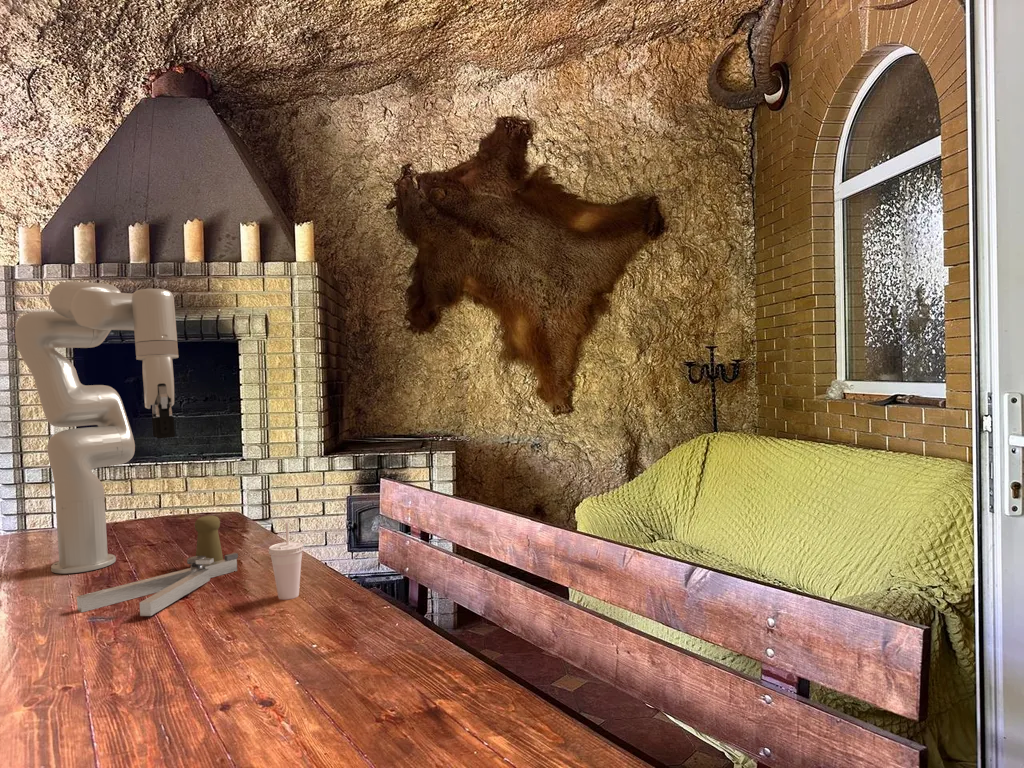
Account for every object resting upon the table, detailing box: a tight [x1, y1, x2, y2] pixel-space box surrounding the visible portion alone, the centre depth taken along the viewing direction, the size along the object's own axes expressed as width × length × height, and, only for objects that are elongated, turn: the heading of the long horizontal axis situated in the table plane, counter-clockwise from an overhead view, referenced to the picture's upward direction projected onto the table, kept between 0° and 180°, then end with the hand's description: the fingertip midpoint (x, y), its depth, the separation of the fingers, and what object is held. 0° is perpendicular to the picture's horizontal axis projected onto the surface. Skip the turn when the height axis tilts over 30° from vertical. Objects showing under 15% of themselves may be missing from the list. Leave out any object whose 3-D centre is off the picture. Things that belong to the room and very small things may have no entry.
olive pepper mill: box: [194, 515, 224, 565], centre depth 155 cm, size 6×6×11 cm
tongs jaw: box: [139, 555, 214, 617], centre depth 134 cm, size 6×24×4 cm, turn 175°
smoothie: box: [268, 521, 305, 601], centre depth 131 cm, size 6×6×14 cm
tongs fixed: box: [76, 552, 239, 613], centre depth 139 cm, size 2×31×4 cm, turn 140°
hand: (163, 437), depth 138 cm, fingers open, 9 cm apart
